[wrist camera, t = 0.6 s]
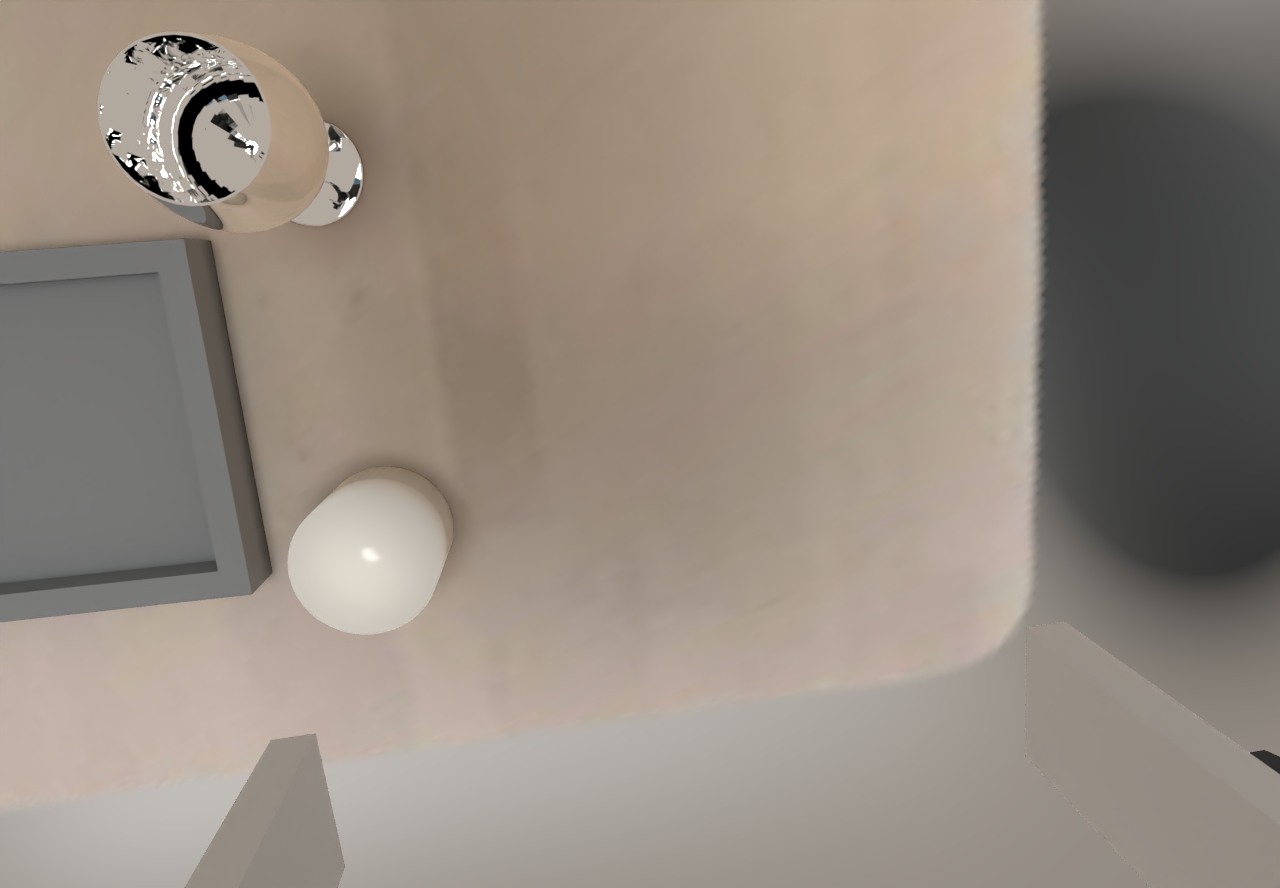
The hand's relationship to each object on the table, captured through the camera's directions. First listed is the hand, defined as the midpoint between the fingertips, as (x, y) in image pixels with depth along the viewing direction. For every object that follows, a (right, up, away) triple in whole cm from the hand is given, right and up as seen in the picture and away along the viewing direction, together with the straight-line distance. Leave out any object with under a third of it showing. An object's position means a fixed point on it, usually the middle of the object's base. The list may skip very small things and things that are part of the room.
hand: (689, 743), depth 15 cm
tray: (-26, +6, +21) cm, 34 cm away
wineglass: (-15, +17, +20) cm, 30 cm away
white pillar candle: (-13, +1, +23) cm, 26 cm away
